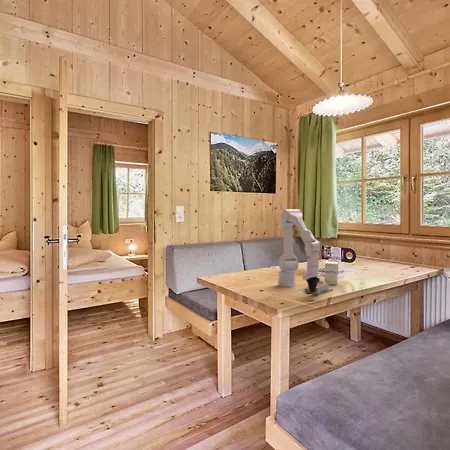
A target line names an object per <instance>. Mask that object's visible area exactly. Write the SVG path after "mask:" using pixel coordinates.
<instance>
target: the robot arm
mask: <svg viewBox="0 0 450 450" xmlns="http://www.w3.org/2000/svg"><path fill="white" fill-rule="evenodd" d="M280 215H281V216H280V217H281V224H282V231H283V232H282V233H283V235H282V236H283V254H282V255H281V256H280V257H279V263H278V267H279V270H278V279H277V280H278V281H277V283H278V285H277V286H278V287H288V288H289V287H290V288H293V287H295V286H296V272H297V270H298V269H299V264H300V263H299V261H298V257H297V256H296V255H295V254H294V239H293V236H294V235H293V234H294V233H293V226H294V225H295V226H296V227H297V229H298V230H299V231H300V238H301V240H302V241H303V244H304V250H305V256H306V273H305V274H303V275H302V276H301V277H302V278H301V279H302V280H303V281H306V283H307V287H308V286H309V289H310V292H313V293H314V292H315V290H316V286H317V284H318V282H319V280H320V277H323V275H324V274H323V272H324V271H323V272H321V271H320V270H319V269H320V256H319V255H320V252H321V251H322V248H323V247H322V244H321V241H319V240H317V239H316V238H315V236H314V235H313V233H312V231H311V230H310V229H308V228H307V226H306V224H305V222H304V220H303V212H302V210H301V209H299V208H298V209H285V208H284V209H283V211H282V212H281V214H280Z"/></svg>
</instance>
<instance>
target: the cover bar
mask: <svg viewBox="0 0 450 450" xmlns="http://www.w3.org/2000/svg"><path fill="white" fill-rule="evenodd" d="M328 289H329V284H328V283H327V284H323V285H320V286H316V290H315V292H314V293H313V294H312V295H316V294H319V293H320V292H324V291H327V290H328Z"/></svg>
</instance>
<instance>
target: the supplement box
mask: <svg viewBox="0 0 450 450" xmlns="http://www.w3.org/2000/svg"><path fill="white" fill-rule="evenodd" d="M338 266H339V261H324V274H323V275H324V279H323V282H326V284H327V283H328V285H331V286H332V285H335V286H337V285H338V271H339V270H338V268H339V267H338Z"/></svg>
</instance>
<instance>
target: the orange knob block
mask: <svg viewBox="0 0 450 450" xmlns="http://www.w3.org/2000/svg"><path fill="white" fill-rule="evenodd" d="M318 284H319V286H320V285H323V284H326V282H324V280H319V282H318Z"/></svg>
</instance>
